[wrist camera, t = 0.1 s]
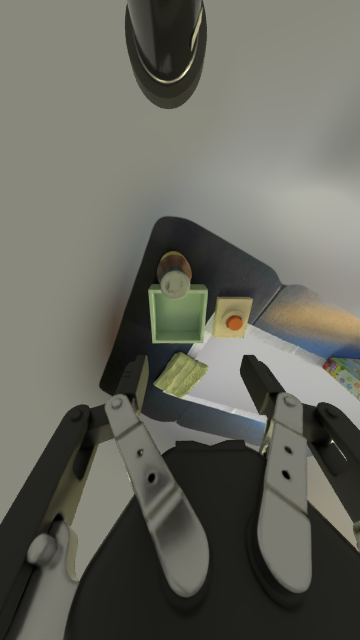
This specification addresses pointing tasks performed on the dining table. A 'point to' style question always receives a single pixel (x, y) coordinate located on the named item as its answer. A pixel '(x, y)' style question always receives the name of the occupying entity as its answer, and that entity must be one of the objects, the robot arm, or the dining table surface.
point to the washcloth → (181, 375)
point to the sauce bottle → (174, 275)
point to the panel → (230, 308)
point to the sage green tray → (178, 315)
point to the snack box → (345, 373)
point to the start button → (234, 323)
